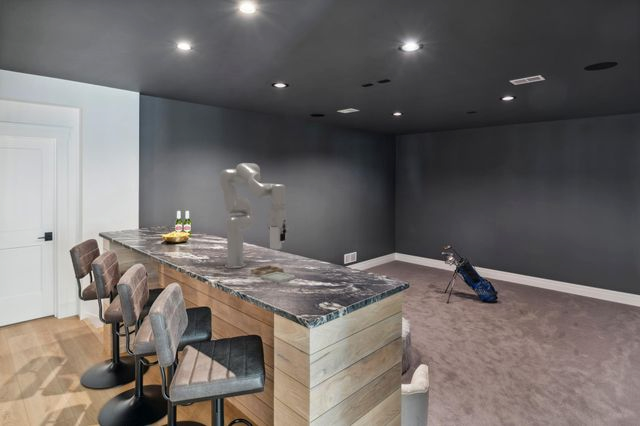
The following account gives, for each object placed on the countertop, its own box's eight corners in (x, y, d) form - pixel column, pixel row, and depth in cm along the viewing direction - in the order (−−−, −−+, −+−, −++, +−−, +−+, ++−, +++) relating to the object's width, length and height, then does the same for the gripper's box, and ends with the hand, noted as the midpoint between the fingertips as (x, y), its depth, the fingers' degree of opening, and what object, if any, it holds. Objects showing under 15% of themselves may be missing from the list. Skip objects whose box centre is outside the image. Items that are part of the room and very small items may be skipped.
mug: (273, 250, 197) (273, 227, 195) (267, 247, 202) (267, 225, 201) (289, 248, 203) (289, 226, 201) (282, 245, 208) (283, 224, 207)
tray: (261, 278, 204) (261, 275, 204) (277, 274, 213) (277, 271, 213) (279, 283, 195) (279, 280, 195) (294, 278, 204) (294, 275, 204)
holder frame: (251, 273, 215) (251, 269, 215) (270, 268, 226) (270, 265, 226) (264, 276, 207) (264, 272, 207) (283, 271, 219) (283, 268, 218)
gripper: (262, 206, 203) (262, 239, 205) (284, 208, 192) (284, 242, 194) (272, 205, 209) (272, 237, 210) (294, 207, 198) (294, 241, 199)
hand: (278, 239), depth 202 cm, fingers closed on mug, 6 cm apart
